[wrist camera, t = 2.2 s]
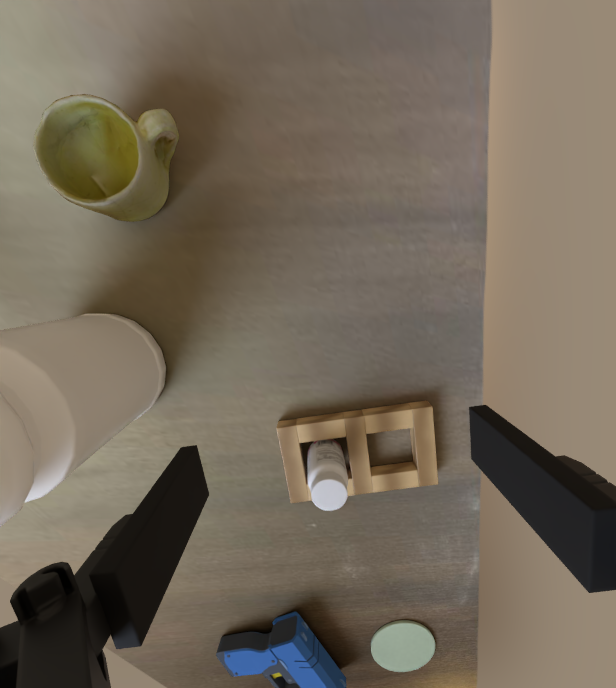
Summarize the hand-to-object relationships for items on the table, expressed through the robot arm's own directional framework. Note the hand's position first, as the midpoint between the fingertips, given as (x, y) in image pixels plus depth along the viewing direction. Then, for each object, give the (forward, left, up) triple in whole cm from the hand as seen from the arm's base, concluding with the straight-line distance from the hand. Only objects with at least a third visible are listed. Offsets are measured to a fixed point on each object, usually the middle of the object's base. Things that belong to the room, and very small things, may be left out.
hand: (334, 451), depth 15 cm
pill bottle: (+1, +15, -25) cm, 29 cm away
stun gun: (+13, +49, -25) cm, 57 cm away
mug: (+16, -22, -25) cm, 37 cm away
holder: (-3, +15, -25) cm, 29 cm away
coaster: (-6, +50, -25) cm, 56 cm away
